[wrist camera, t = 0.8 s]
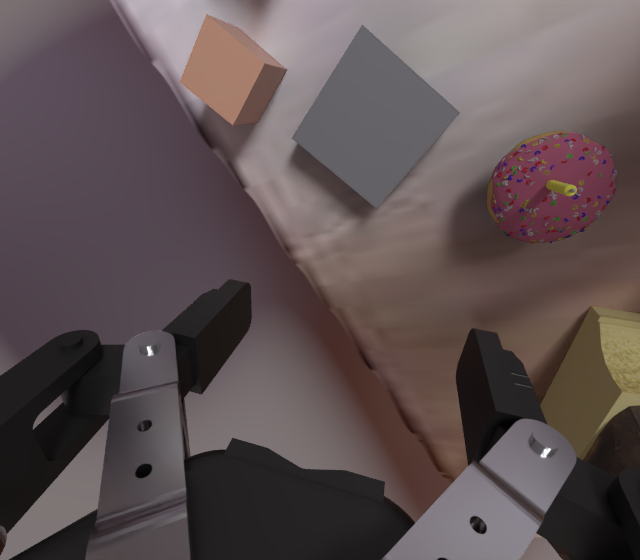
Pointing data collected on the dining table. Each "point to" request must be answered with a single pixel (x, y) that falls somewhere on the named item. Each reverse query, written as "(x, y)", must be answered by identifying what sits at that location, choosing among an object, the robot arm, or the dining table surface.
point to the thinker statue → (600, 393)
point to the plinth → (373, 119)
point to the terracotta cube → (231, 72)
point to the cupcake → (551, 186)
